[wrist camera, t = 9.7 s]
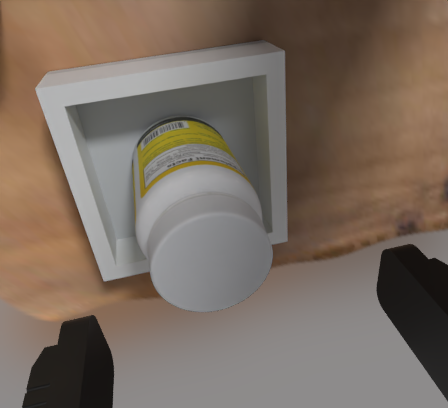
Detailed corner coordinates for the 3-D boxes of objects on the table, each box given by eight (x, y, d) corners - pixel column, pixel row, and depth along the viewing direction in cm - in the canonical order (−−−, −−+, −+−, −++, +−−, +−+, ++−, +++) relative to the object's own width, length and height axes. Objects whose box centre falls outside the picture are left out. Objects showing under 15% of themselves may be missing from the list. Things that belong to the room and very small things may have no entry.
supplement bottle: (204, 211, 21) (243, 332, 14) (118, 186, 19) (114, 310, 12) (243, 132, 19) (311, 226, 12) (152, 96, 17) (171, 182, 10)
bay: (263, 40, 18) (284, 50, 16) (271, 213, 23) (287, 241, 21) (47, 71, 17) (35, 88, 14) (106, 247, 22) (104, 281, 19)
